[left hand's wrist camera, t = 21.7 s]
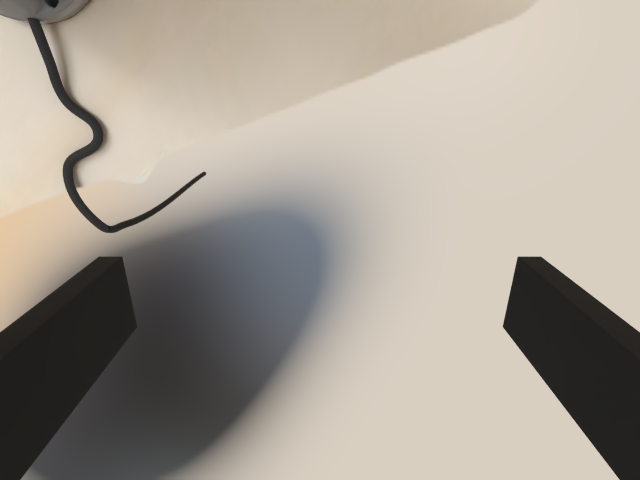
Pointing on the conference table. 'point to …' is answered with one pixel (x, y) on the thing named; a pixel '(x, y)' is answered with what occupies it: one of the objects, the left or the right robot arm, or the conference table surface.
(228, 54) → the conference table surface
